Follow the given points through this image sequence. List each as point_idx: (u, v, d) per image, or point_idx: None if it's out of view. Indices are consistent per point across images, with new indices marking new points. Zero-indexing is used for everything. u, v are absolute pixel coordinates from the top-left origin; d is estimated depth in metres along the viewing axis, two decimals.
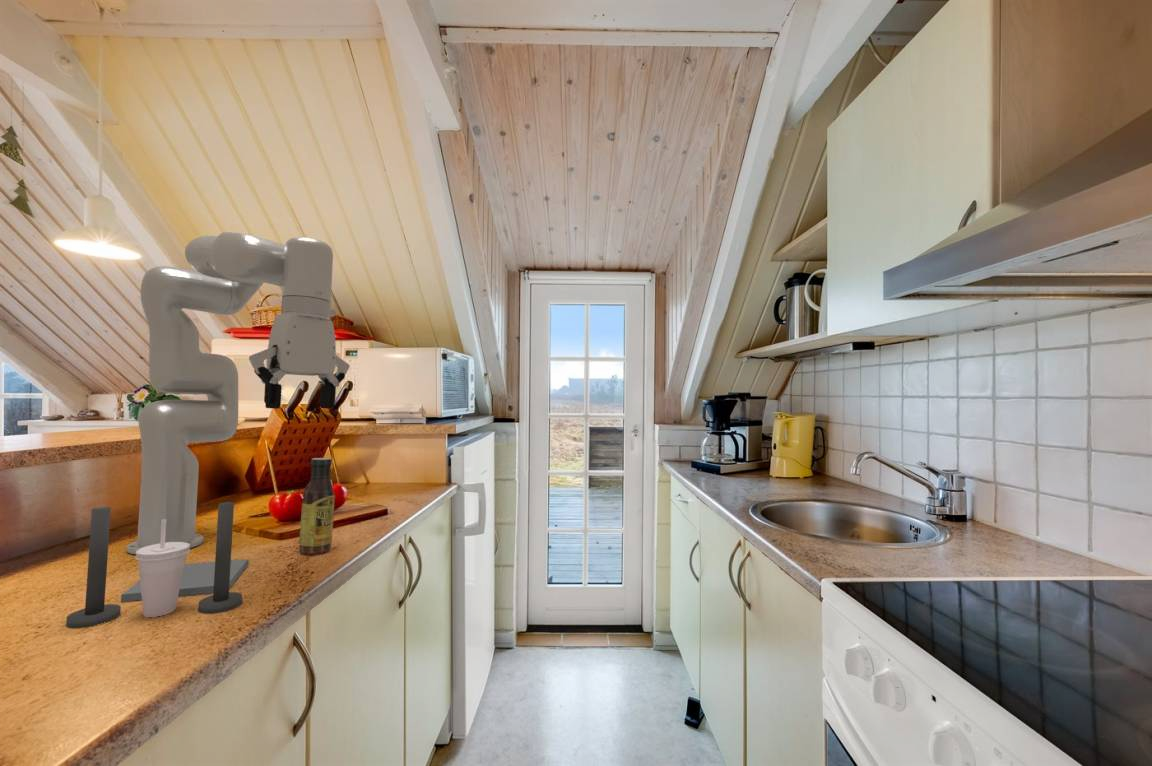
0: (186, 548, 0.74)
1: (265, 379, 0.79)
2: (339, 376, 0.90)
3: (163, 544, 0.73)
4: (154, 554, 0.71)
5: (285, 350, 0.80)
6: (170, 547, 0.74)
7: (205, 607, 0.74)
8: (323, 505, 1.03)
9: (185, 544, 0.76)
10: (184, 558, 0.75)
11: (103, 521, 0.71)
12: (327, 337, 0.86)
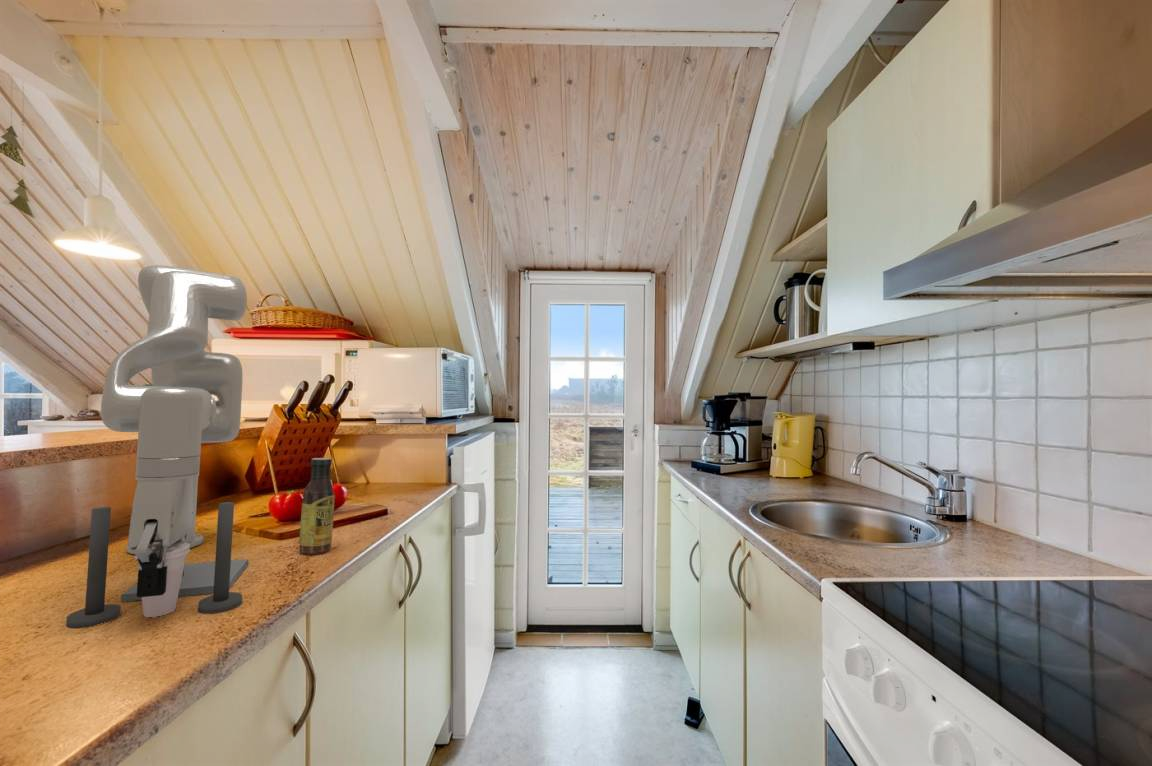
0: (186, 548, 0.74)
1: (151, 566, 0.69)
2: None
3: None
4: None
5: (170, 523, 0.71)
6: (170, 547, 0.73)
7: (205, 607, 0.74)
8: (323, 505, 1.03)
9: (185, 544, 0.76)
10: (184, 558, 0.74)
11: (104, 521, 0.71)
12: (191, 493, 0.77)
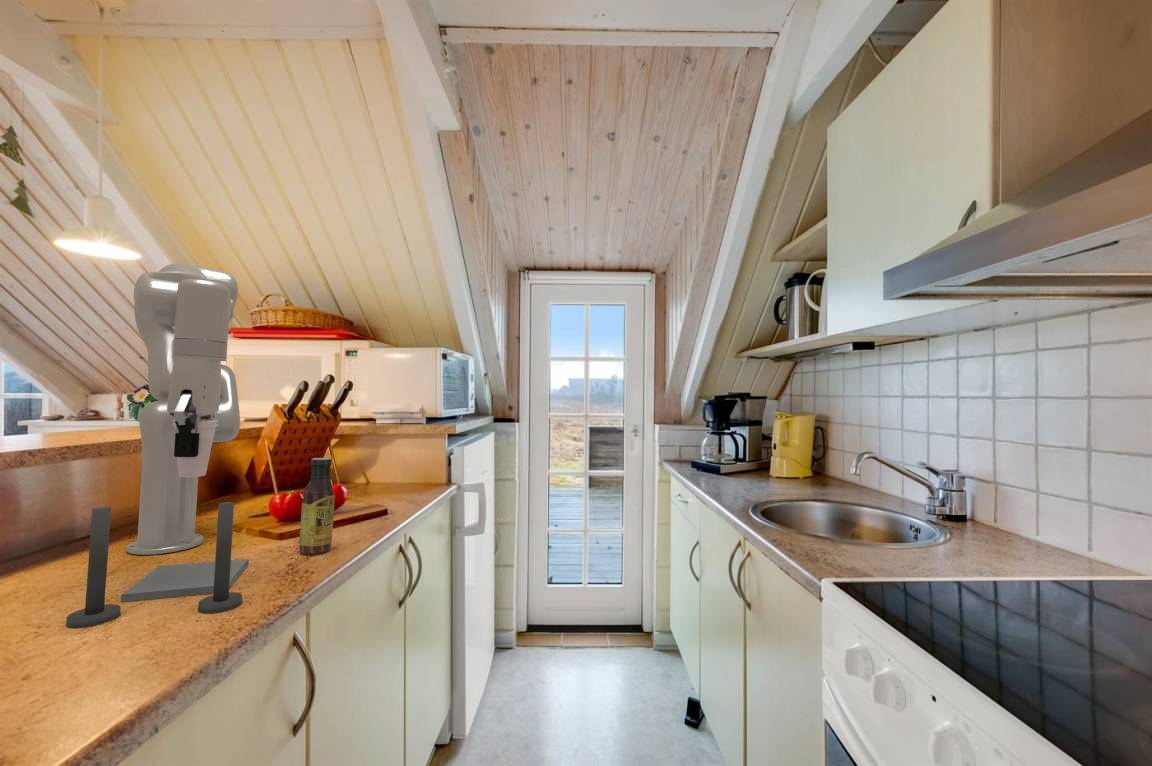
0: (215, 422, 0.85)
1: (187, 430, 0.80)
2: None
3: None
4: None
5: (202, 395, 0.81)
6: (201, 419, 0.84)
7: (205, 607, 0.74)
8: (323, 505, 1.03)
9: (214, 420, 0.87)
10: (213, 430, 0.85)
11: (104, 521, 0.71)
12: (219, 377, 0.88)
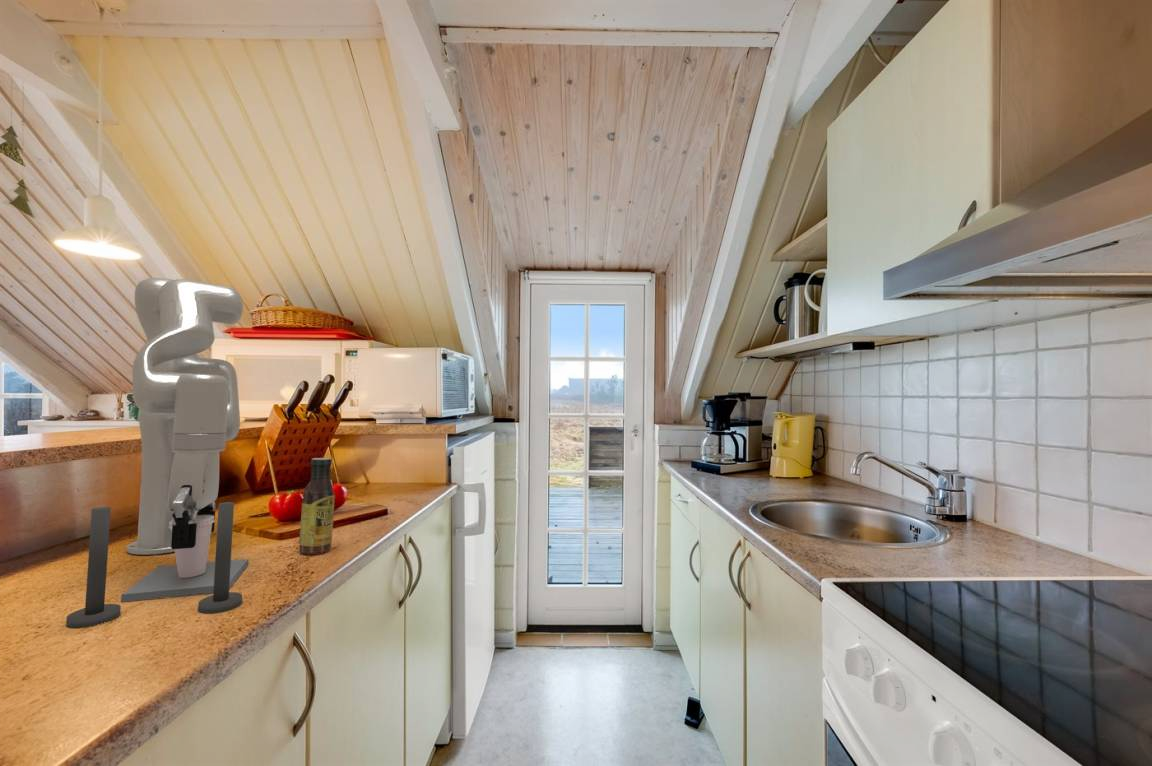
0: (211, 518, 0.87)
1: (184, 522, 0.80)
2: None
3: None
4: None
5: (202, 489, 0.83)
6: (198, 518, 0.86)
7: (205, 607, 0.74)
8: (323, 505, 1.03)
9: (210, 516, 0.88)
10: (210, 527, 0.87)
11: (104, 522, 0.71)
12: (218, 465, 0.90)
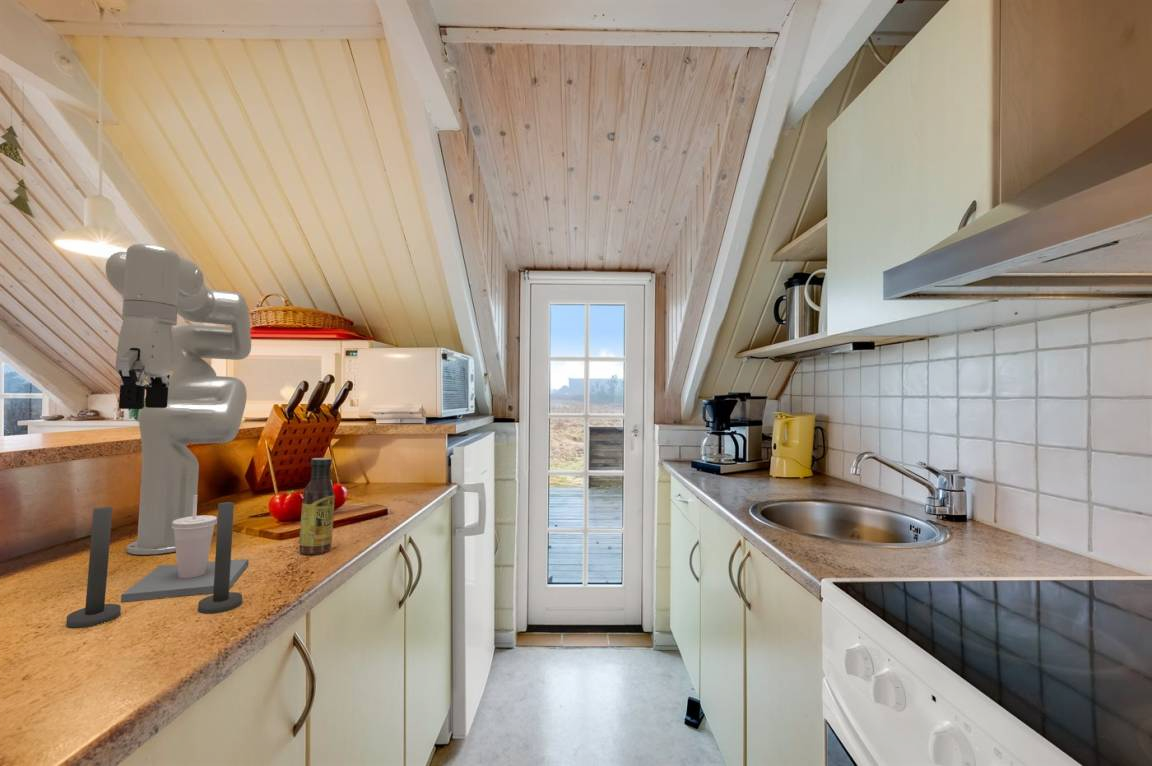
0: (214, 520, 0.87)
1: (131, 381, 0.82)
2: (167, 377, 0.94)
3: (195, 516, 0.85)
4: (188, 524, 0.83)
5: (151, 354, 0.85)
6: (201, 519, 0.86)
7: (205, 607, 0.74)
8: (323, 505, 1.03)
9: (213, 517, 0.88)
10: (212, 528, 0.87)
11: (105, 521, 0.71)
12: (170, 341, 0.92)
